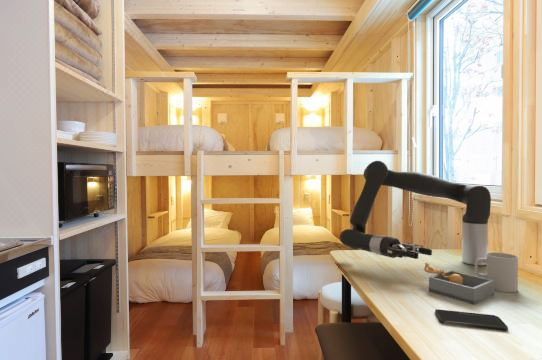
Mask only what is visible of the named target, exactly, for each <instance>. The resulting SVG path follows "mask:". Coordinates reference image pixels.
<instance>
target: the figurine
mask: <svg viewBox="0 0 542 360" xmlns="http://www.w3.org/2000/svg"><path fill="white" fill-rule="evenodd" d="M423 271H424V272H426V273H429V274H435V275H437V274H441V273H442V276H443V277H445V278H449V282H453V283H456V284H460V285H462V284H463V279H462V277H461V276H460V275H458V274H452V275H450V276H446V275H445V272H446V271H444V270H443V269H437V268H434V267H433V266H431V265H430V263H428V262H425V264H424V269H423Z"/></svg>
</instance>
